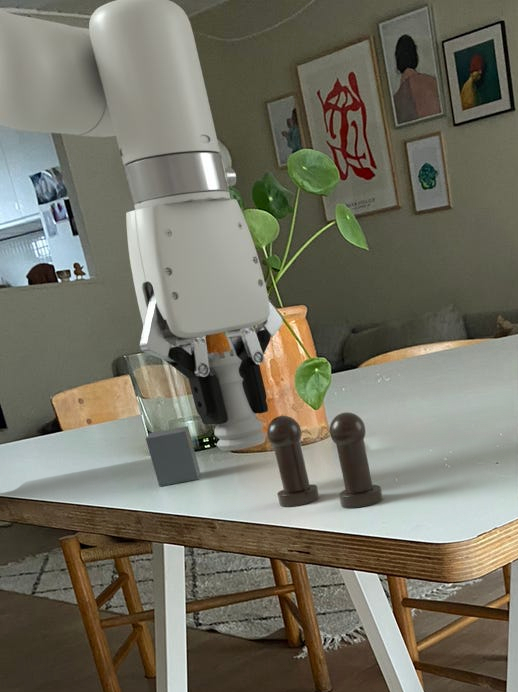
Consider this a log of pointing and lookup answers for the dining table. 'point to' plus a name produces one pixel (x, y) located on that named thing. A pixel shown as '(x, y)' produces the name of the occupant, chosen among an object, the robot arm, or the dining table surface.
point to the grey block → (173, 456)
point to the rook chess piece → (234, 405)
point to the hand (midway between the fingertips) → (235, 415)
